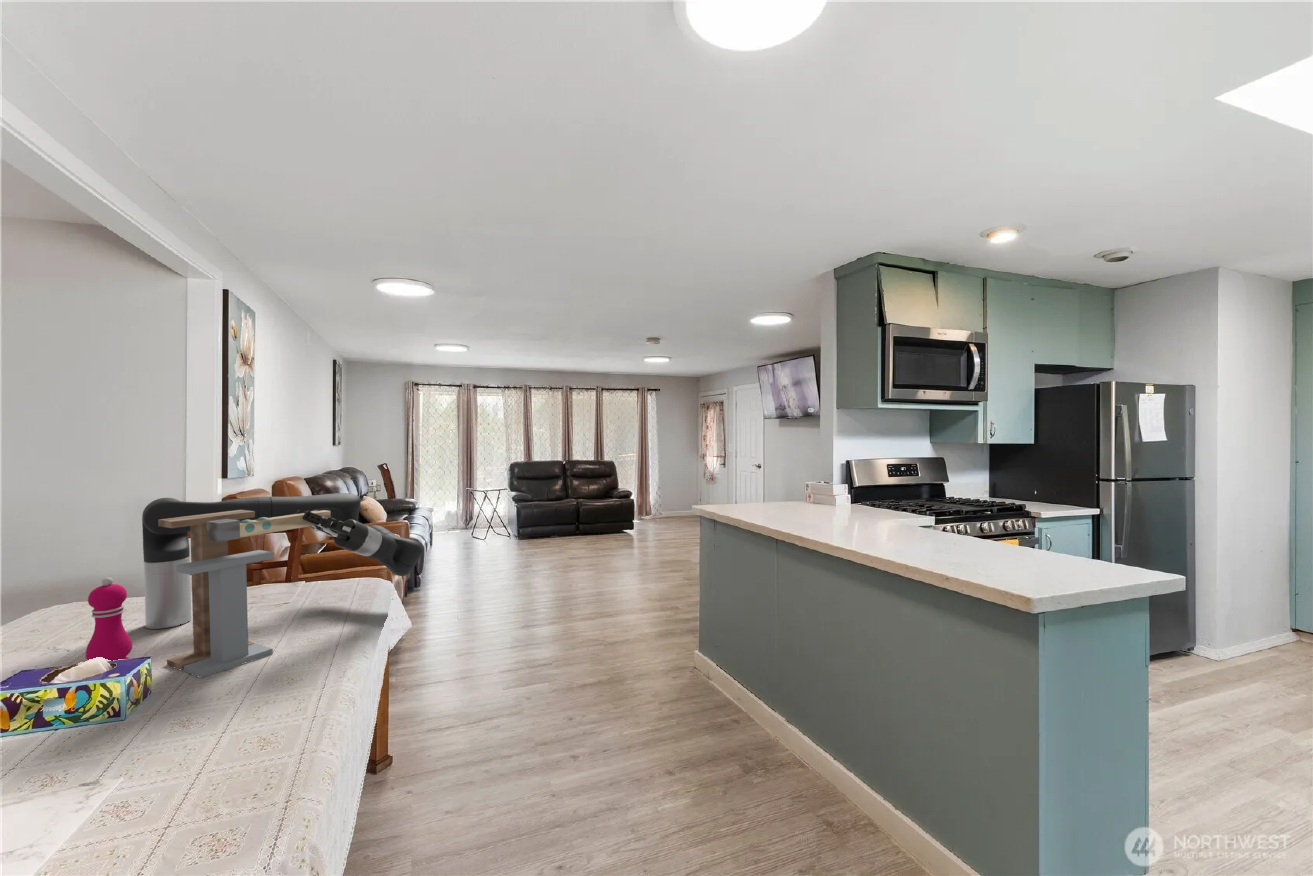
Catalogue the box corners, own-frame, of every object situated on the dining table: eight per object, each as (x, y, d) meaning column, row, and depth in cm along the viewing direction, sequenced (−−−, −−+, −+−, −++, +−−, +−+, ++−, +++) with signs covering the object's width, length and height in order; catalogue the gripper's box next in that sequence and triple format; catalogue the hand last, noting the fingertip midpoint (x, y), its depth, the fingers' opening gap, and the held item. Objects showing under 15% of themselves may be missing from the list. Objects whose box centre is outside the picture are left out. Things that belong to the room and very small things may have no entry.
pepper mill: (103, 679, 117) (100, 583, 117) (76, 676, 118) (73, 581, 118) (141, 665, 124) (139, 573, 124) (115, 662, 126) (113, 572, 125)
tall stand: (161, 666, 123) (157, 519, 122) (243, 641, 137) (240, 509, 137) (176, 672, 120) (172, 521, 119) (259, 646, 134) (256, 511, 133)
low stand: (178, 673, 120) (175, 564, 119) (260, 647, 134) (258, 549, 133) (194, 680, 116) (191, 568, 116) (277, 652, 130) (275, 552, 130)
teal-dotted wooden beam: (207, 539, 123) (206, 521, 123) (321, 521, 145) (320, 506, 145) (219, 541, 121) (218, 523, 121) (333, 523, 143) (332, 507, 143)
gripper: (348, 523, 157) (291, 498, 143) (381, 527, 150) (325, 501, 137) (336, 549, 153) (276, 526, 140) (369, 554, 147) (310, 531, 133)
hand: (300, 514), depth 138 cm, fingers closed on teal-dotted wooden beam, 3 cm apart
